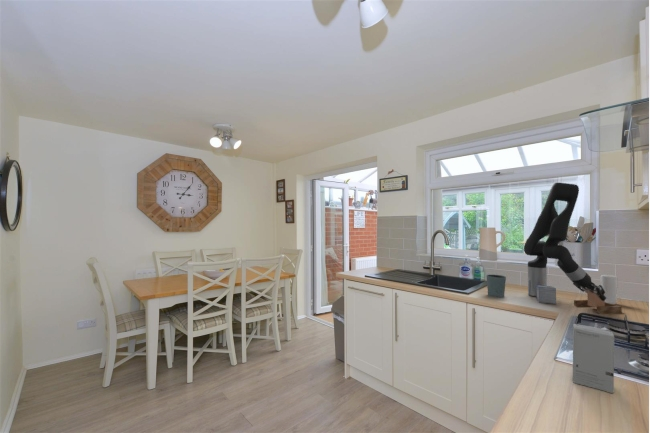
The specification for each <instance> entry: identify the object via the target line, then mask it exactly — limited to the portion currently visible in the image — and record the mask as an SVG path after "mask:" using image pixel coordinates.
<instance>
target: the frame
mask: <svg viewBox="0 0 650 433" xmlns="http://www.w3.org/2000/svg"><path fill="white" fill-rule="evenodd" d="M573 305H574V307H590V306H589V305H588V299H574V300H573ZM622 308H623V307H622V306H621V305H617V304H610V303H606V302H605V306H597V308H596V313H597V312H598V313H597V314H619V313H620V314H622V312H623V309H622Z"/></svg>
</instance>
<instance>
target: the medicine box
mask: <svg viewBox="0 0 650 433" xmlns="http://www.w3.org/2000/svg"><path fill="white" fill-rule="evenodd" d="M536 301H537V302H538V303H541V304H542V303H543V304H554V305H555V304H557V288H556V287H555V286H553V285H552V286H551V285H550V286H549V285H547V286H538V285H537V297H536Z"/></svg>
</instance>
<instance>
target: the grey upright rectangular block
mask: <svg viewBox="0 0 650 433" xmlns="http://www.w3.org/2000/svg"><path fill="white" fill-rule="evenodd" d="M572 326H573V329H572V382H573V383H574V384H577V385H582V386H584V387H589V388H592V389H595V390H600V391H603V392H607V393H611V394H614V392H615V391H614V386H615V385H614V384H615V379H614V378H615V374H614V373H615V365H614V364H615V334H614V333H613V331H612V330H608V329H606V328H605V329H604V328H599V327H594V326H589V325H584V324H578V323H573V325H572Z"/></svg>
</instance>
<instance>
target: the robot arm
mask: <svg viewBox="0 0 650 433" xmlns="http://www.w3.org/2000/svg"><path fill="white" fill-rule="evenodd" d="M579 191H580V188H579V185H578V184H573V183H569V182H568V183H566V182H554V183H553V184H552V186H551V188H550V189H549V192H548V195H547V198H546V200H545V203H544V206H543V208H542V210H541V212H540V214H539V216H538V218H537V220H536V223H535V224H534V227H533V229H532V232H531V233H530V234H529V236H528V238H527V240H526V241H525V243H524V246H523V251H524V253H525V255H527V256H530V257H531V256H534V257H535V258H534V259H532V260H529V261H528V262H527V295H528V296H531V297H535V298H537V285H538V286H548V281H547V278H548V277H547V264H548V259H552V260H557V263H556V265H557V266H558V267H559V269H560V270H561V271H563V273H564V274H565V276H566V277H567V278H569V280H570V281H571V282H572V285H573V286H574V287H576V288H577V289H578V290H579V291H581V292H583V293H584V292H585V294H587V292H588V291H587V290H589V291H591V292H592V293H595V294H596V295H597V296H598V297H599V298H600V299H601V300H602V301H605V299H606V297H605V296H604V294H605V291H604V289H603V287H602V286H601V284H598V285H597V284H595V283H594V282H593V281H592V277H591V276H590V275H589V274H588V273H587V272H586V271H585V269H584V268H583V267H581V266H580V264H578V263H577V262H576V261H575V260H574V259H573V256H572V254H571V252H570V251H569V249H568V248H567V247H566V246H564V245H561V244H560V243H561V242H565V241H566V240H567V237H568V236H567V235H568V232H569V225H570V223H571V222H570V221H571V218H572V215H573V212H574V211H575V207H576V204H577V201H578V196H579V193H580V192H579ZM556 201H559V202H566V205H565V207H564V209H563V210H562V211H561V212H560V213H559V214H558V210H556V206H555V202H556ZM547 236H548V237H547ZM545 237H547V238H546V241H544V240H543V239H544V238H545ZM597 292H598V293H597Z"/></svg>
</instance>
